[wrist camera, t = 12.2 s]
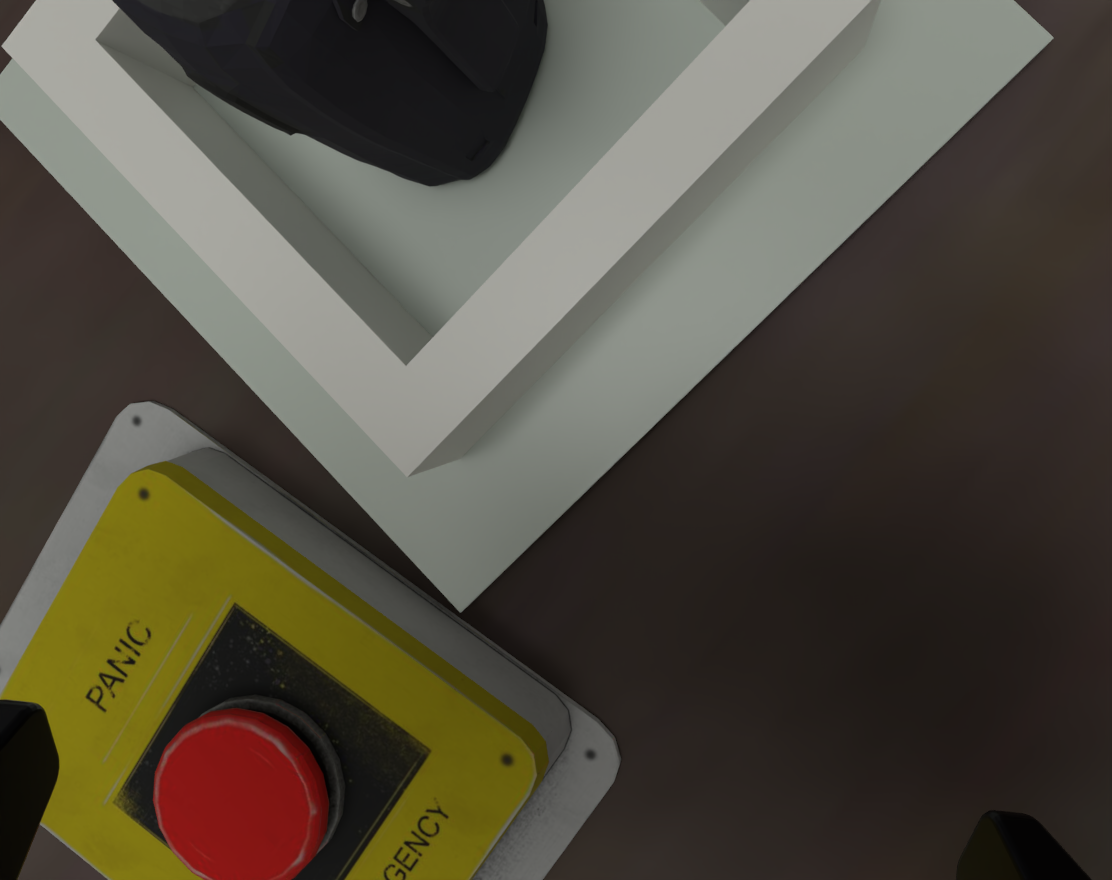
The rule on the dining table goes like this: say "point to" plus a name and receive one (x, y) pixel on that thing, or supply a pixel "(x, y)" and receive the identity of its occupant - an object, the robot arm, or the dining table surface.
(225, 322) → the charging dock
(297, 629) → the emergency button
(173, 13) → the two-way radio
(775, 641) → the dining table surface
